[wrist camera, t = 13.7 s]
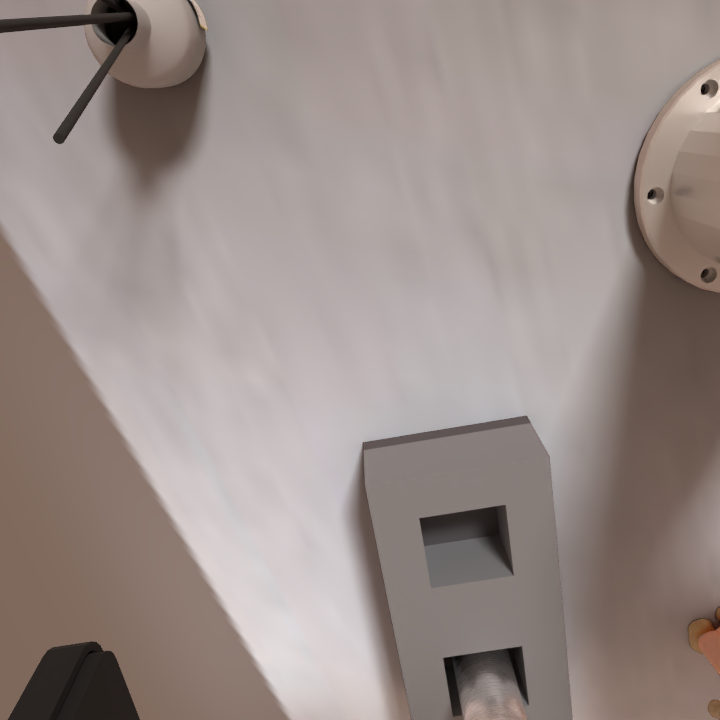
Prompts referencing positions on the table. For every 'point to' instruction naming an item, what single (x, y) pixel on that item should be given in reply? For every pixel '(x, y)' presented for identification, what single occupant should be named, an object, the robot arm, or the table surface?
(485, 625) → the hole block
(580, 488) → the table surface
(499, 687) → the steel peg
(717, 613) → the grandmother figurine
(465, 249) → the table surface
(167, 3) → the reed diffuser
